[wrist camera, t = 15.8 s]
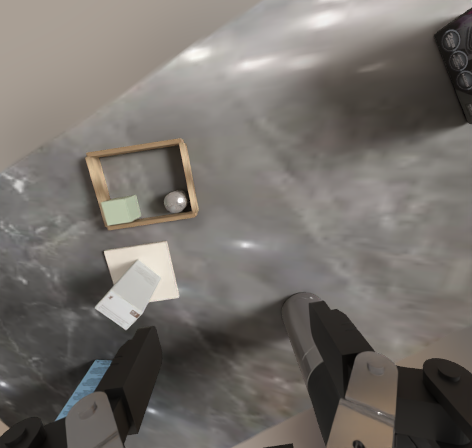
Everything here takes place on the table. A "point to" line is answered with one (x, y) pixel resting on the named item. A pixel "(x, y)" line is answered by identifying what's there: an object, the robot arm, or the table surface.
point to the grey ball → (176, 201)
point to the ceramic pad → (153, 258)
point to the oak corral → (95, 163)
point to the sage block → (121, 210)
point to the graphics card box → (459, 57)
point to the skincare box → (129, 295)
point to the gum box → (86, 385)
